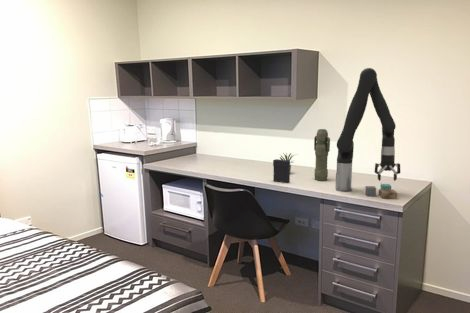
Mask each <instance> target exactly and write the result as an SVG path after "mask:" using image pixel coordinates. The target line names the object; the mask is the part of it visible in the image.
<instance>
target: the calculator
mask: <svg viewBox="0 0 470 313" xmlns="http://www.w3.org/2000/svg"><path fill="white" fill-rule="evenodd" d="M272 163H273V164H272V166H273V182H277V183H283V184H284V183H285V184H288V183H290V181H291V180H290V179H291V171H290V165H291V160H290V161H288V159H287V160H286V159H285V160H284V159H283V160H281V159H279V158H278V159H276V158H275V159H273V160H272Z"/></svg>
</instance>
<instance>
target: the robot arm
mask: <svg viewBox="0 0 470 313" xmlns="http://www.w3.org/2000/svg"><path fill="white" fill-rule="evenodd" d="M369 97H370V98H371V102H372V105H373V108H374V111H375V113H376V115H377V117H378V118H379V121H380V123H381V134H382V137H381V149H380V163H377V162H375V164H374V174H376V175H377V181H381V179H382V177H381V174H382V173H383V172H384V171H385V172H387V171H388V172H393V182H394V181H396V180H398V178H397V177H398V175H399V174H401V163H399V162H397V163H395V159H396V158H395V157H396V156H395V154H396V150H395V148H396V146H395V141H396V140H395V139H396V138H395V130H396V128H397V127H396V126H397V125H396V122H395V120H394V118H393V116H392V115H391V112H390V111H391V110H390V109H389V106H388V103H387V102H386V99H385V98H384V95H383V93H382V91H381V88H380V86H379V82H378V74H377V72H376V70H375V69H374V68H372V67H365V68H364V69H362V71H361V72H360V74H359V78H358V84H357V87H356V90H355V93H354V95H353V97H352V100H351V102H350V103H349V104H350V105H349V106H348V110H347V113H346V116H345V120H344V124H343V128H342V131H341V133H340V136H339V137H338V139H337V142H336V148H337V156H336V173H335V190H336V191H339V192H349V191H352V181H353V180H352V178H353V159H354V146H355V145H354V144H355V143H354V136H355V133H356V131H357V130H358V127H359V126H360V123H361V121H362V119H363V117H364V114H365V111H366V108H367V105H368V100H369ZM395 167H396V170H397V171H396V170H395ZM378 168H379V170H378Z"/></svg>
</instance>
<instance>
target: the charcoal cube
mask: <svg viewBox="0 0 470 313" xmlns="http://www.w3.org/2000/svg"><path fill="white" fill-rule="evenodd" d="M365 196H366V197H377V187H376V186H375V185H374V186H373V185H365Z"/></svg>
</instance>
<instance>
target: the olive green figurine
mask: <svg viewBox="0 0 470 313" xmlns="http://www.w3.org/2000/svg"><path fill="white" fill-rule="evenodd" d="M313 141H314V142H313V146H314V147H313V151H314V155H315V168H314V181H316V180H317V182H326V181H328V176H329V175H328V174H329V170H328V158H329V152H330V151H331V150H330V149H331V146H330V145H331V138H330V137H329V133H328V130H327V129H325V128H320V129H317V131H316V135H315V136H314V140H313Z"/></svg>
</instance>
